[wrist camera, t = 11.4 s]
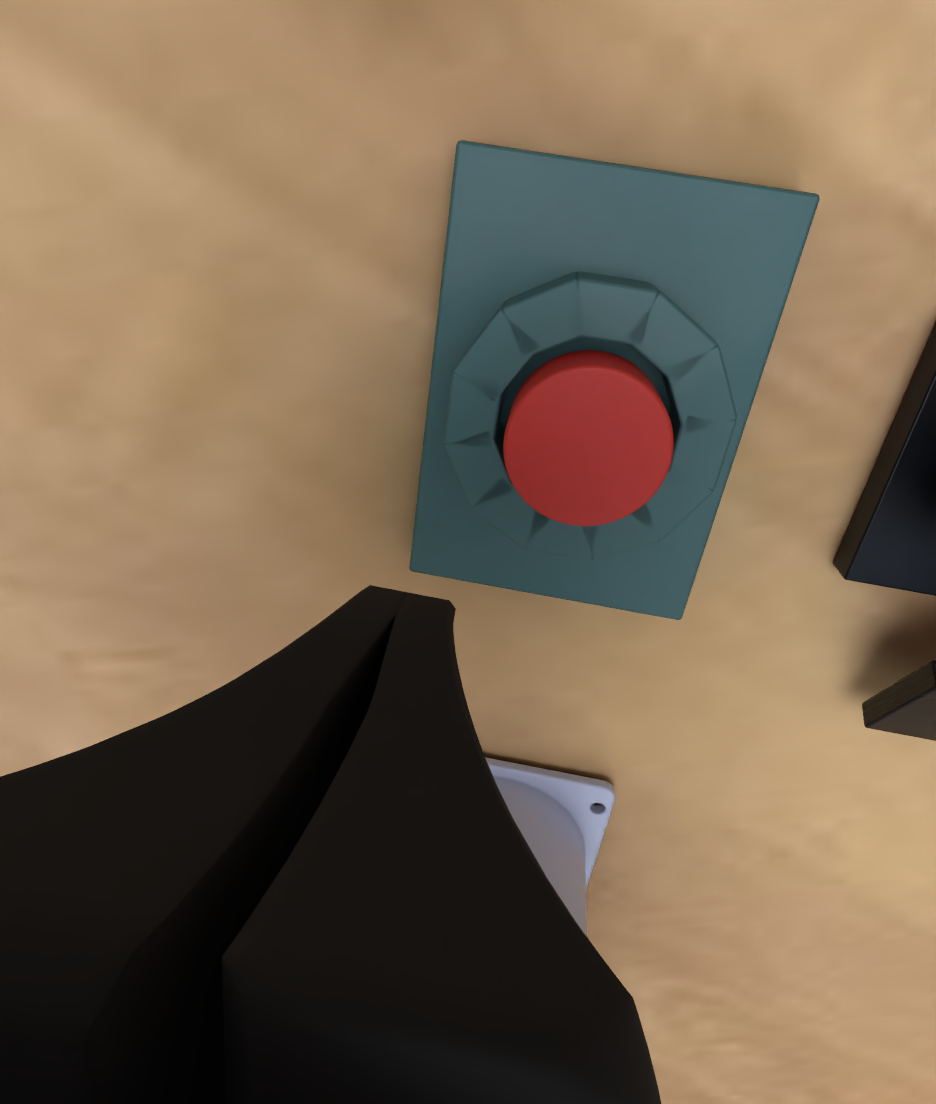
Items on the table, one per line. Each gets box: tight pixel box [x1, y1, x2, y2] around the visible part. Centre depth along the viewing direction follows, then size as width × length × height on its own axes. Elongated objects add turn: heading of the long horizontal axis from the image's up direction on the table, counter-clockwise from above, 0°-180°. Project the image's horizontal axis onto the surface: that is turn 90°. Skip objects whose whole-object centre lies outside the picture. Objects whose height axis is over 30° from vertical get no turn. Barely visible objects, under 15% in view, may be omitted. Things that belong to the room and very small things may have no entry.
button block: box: [409, 140, 819, 620], centre depth 17 cm, size 11×8×3 cm
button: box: [503, 350, 674, 526], centre depth 16 cm, size 4×4×2 cm
